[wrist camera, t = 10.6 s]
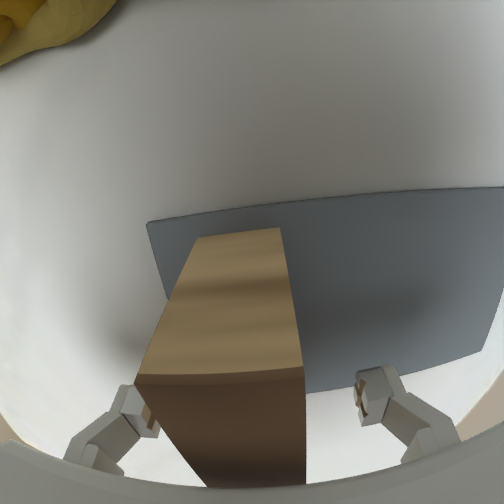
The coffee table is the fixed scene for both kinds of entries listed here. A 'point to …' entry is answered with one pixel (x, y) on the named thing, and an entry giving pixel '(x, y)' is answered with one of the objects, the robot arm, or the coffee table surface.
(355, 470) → the coffee table surface
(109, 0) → the toy
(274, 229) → the slab
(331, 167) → the coffee table surface
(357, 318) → the mat
